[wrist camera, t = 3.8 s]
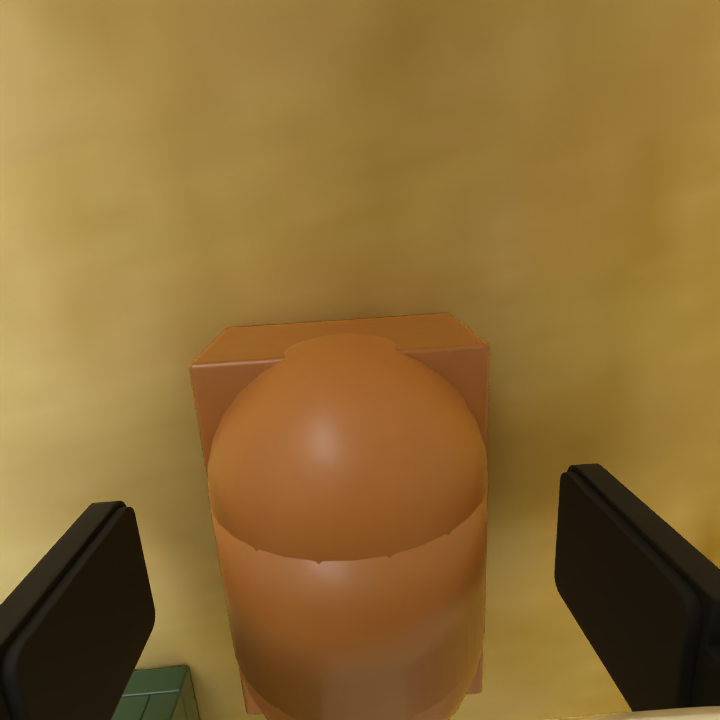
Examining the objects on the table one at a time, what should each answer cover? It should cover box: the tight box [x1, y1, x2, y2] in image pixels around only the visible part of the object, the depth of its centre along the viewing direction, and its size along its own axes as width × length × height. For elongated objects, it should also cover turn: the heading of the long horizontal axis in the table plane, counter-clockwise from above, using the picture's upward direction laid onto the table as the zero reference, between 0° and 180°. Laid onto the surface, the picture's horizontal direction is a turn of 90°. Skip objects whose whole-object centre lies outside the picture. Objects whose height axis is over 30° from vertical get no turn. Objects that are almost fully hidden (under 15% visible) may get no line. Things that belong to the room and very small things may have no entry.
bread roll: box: [189, 313, 489, 720], centre depth 10 cm, size 8×5×5 cm, turn 3°
